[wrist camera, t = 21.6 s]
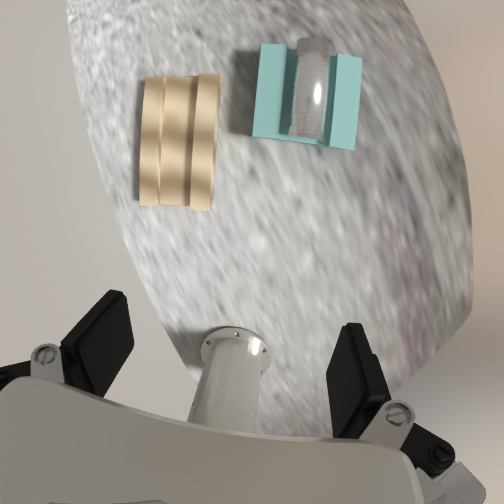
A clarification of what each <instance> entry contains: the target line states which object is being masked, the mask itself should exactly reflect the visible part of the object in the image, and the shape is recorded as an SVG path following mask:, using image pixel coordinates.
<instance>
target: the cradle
mask: <svg viewBox="0 0 504 504" xmlns="http://www.w3.org/2000/svg"><path fill="white" fill-rule="evenodd" d="M295 58H296V50H291V49H287V45H279V44H266V43H261V52H260V62H259V72H258V82H257V92H256V102H255V112H254V122H253V133H252V137H259V138H269V139H279V140H287V141H295V142H302V143H309V144H316V145H322V146H328V147H334V148H340V149H345V150H352V151H354V146H355V138H356V130H357V120H358V110H359V99H360V86H361V70H362V58H358V57H353V56H349V55H344V54H340V53H338V54H337V55H336V56H331V60H330V74H329V86H328V98H327V108H326V118H325V128H324V137H323V140H314V139H307V138H300V137H293V136H288V132H289V122H290V112H291V102H292V91H293V81H294V70H295Z"/></svg>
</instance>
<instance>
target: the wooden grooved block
mask: <svg viewBox="0 0 504 504" xmlns="http://www.w3.org/2000/svg"><path fill="white" fill-rule="evenodd" d="M221 86H222V77H221V76H220V75H219V74H199V76H193V77H171V78H166V77H164V76H154V77H146V80H145V89H144V99H143V111H142V124H141V142H140V205H143V206H157V205H159V204H167V205H179V206H190V209H191V210H202V211H209V210H210V209H211V208H212V200H213V183H214V168H215V154H216V141H217V128H218V117H219V106H220V96H221Z"/></svg>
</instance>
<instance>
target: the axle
mask: <svg viewBox="0 0 504 504" xmlns="http://www.w3.org/2000/svg"><path fill="white" fill-rule="evenodd" d="M330 60H331V44H330V43H329V42H327V41H325V40H322V39H318V38H301V39H298V40H297V46H296V58H295V70H294V81H293V91H292V102H291V112H290V122H289V132H288V136H293V137H300V138H307V139H314V140H323V137H324V128H325V118H326V108H327V98H328V86H329V74H330Z"/></svg>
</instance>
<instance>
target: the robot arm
mask: <svg viewBox="0 0 504 504" xmlns="http://www.w3.org/2000/svg"><path fill="white" fill-rule="evenodd" d="M133 347H134V338H133V333H132V327H131V322H130V317H129V310H128V304H127V298H126V296H125V295H124V294H123V292H121V291H117V290H109V291H108V292H107V293H106V294H105V295H104V296H103V297H102V298H101V299H100V300H99V301H98V302H97V303H96V304H95V305H94V306H93V307H92V308H91V310H90V311H89V312H88V313H87V314H86V315H85V316H84V317H83V318H82V319H81V320H80V321H79V322H78V323H77V324H76V326H75V327H74V328H73V329H72V330H71V331H70V332H69V333H68V334H67V336H66V337H65V338H64V339H63V340H62V341H61V346H60V347H59V348H58V347H57V346H56V345H54V344H43V345H40V346H39V347H37V348H36V349H35V350H34V351H33V352H32V355H31V360H29V361H25V362H21V363H17V364H13V365H8V366H4V367H1V368H0V504H483V502H484V500H485V498H486V490H485V488H484V486H483V485H482V484H481V483H480V482H479V481H478V480H477V478H475V476H474V475H473V474H472V473H471V472H470V471H469V470H468V469H467V468H466V467H465V466H464V465H463V464H462V463H461V462H458V463H457V462H456V461H455V452H454V449H453V447H452V446H451V445H450V444H449V443H448V442H446V441H445V440H443V439H441V438H439V437H438V436H436V435H434V434H432V433H431V432H429V431H427V430H426V429H424V428H422V427H421V426H419V425H417V424H416V423H414V421H415V413H414V411H413V409H412V407H411V406H410V405H409V404H407V403H406V402H403V401H401V400H392V399H391V396H390V393H389V390H388V387H387V384H386V381H385V378H384V375H383V372H382V369H381V366H380V363H379V360H378V358H377V356H376V355H375V354H372V351H371V349H370V346H369V343H368V340H367V337H366V335H365V332H364V329H363V326H362V324H361V323H347V325H346V326H342V328H341V332H340V335H339V338H338V340H337V343H336V346H335V349H334V352H333V355H332V358H331V360H330V363H329V366H328V369H327V372H326V380H327V388H328V395H329V403H330V412H331V420H332V429H333V438H311V437H292V436H278V435H266V434H256V433H255V425H256V416H257V406H258V397H259V387H260V377H261V375H263V374H264V373H265V372H266V371H267V370H268V368H269V366H270V363H271V351H270V348H269V346H268V345H267V343H266V342H265V341H264V340H263V339H262V338H261V337H260V336H258V335H257V334H255V333H253V332H251V331H248V330H245V329H240V328H222V329H219V330H216V331H214V332H212V333H210V334H209V335H208V336H207V337H206V338H205V339H204V341H203V343H202V346H201V350H200V351H201V358H202V360H203V362H204V364H205V365H204V368H203V372H202V375H201V378H200V381H199V384H198V387H197V390H196V394H195V397H194V400H193V403H192V406H191V409H190V413H189V416H188V419H187V422H184V421H180V420H175V419H171V418H167V417H163V416H160V415H155V414H152V413H148V412H145V411H141V410H138V409H135V408H132V407H128V406H125V405H122V404H119V403H116V402H113V401H110V400H107V399H104V398H103V397H104V396H105V394H106V392H107V390H108V389H109V387H110V386H111V384H112V382H113V381H114V379H115V377H116V375H117V374H118V372H119V371H120V369H121V367H122V365H123V364H124V362H125V361H126V359H127V358H128V356H129V354H130V353H131V351H132V349H133Z"/></svg>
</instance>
